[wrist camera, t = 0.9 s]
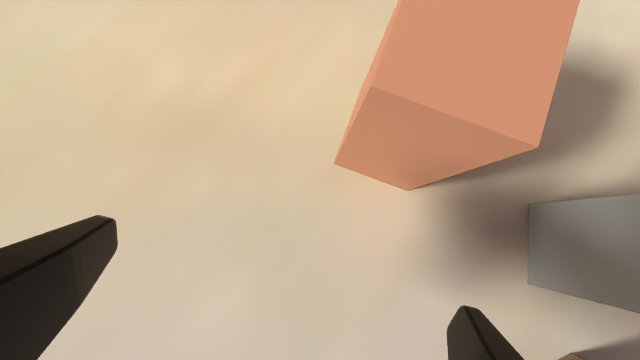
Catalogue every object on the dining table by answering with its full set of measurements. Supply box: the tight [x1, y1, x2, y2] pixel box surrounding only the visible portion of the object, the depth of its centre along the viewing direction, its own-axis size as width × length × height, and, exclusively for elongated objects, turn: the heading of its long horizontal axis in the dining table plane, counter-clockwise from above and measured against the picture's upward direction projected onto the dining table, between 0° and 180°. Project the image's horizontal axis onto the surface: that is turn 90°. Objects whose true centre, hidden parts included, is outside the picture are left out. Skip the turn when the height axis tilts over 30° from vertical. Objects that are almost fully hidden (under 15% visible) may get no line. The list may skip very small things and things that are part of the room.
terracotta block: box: [334, 0, 580, 191], centre depth 16 cm, size 5×5×12 cm
